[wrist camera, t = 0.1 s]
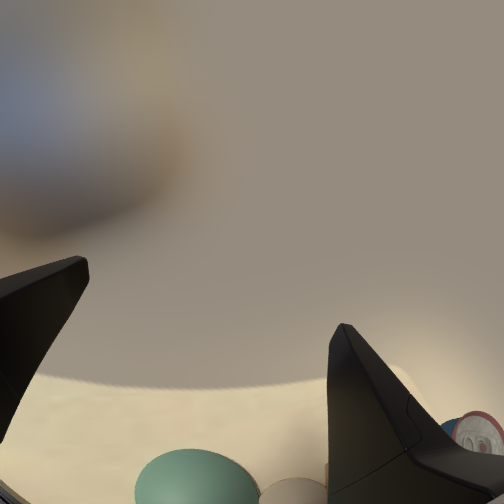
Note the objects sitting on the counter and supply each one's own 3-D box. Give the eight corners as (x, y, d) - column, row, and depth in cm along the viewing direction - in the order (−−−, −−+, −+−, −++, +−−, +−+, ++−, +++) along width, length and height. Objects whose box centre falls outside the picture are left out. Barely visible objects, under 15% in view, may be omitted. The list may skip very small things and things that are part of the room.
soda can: (413, 478, 15) (506, 409, 10) (402, 539, 10) (517, 490, 4) (353, 468, 17) (444, 395, 12) (333, 534, 11) (445, 497, 6)
